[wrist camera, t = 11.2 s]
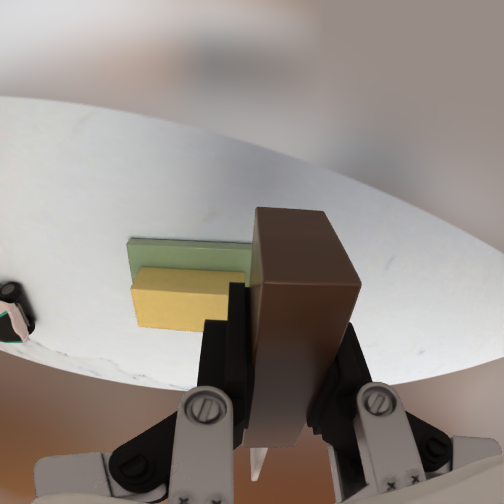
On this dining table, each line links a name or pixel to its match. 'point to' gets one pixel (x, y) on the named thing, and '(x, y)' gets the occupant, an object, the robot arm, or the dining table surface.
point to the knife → (293, 321)
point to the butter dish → (188, 254)
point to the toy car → (13, 316)
